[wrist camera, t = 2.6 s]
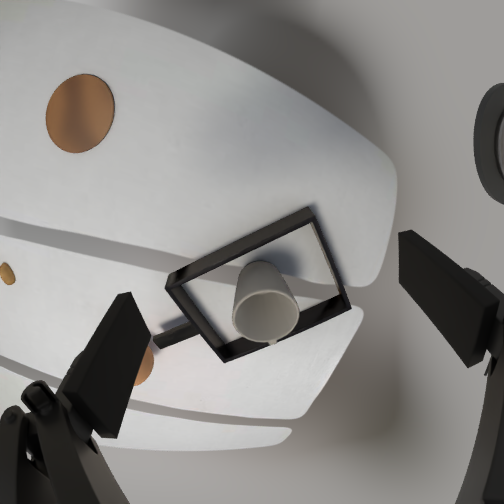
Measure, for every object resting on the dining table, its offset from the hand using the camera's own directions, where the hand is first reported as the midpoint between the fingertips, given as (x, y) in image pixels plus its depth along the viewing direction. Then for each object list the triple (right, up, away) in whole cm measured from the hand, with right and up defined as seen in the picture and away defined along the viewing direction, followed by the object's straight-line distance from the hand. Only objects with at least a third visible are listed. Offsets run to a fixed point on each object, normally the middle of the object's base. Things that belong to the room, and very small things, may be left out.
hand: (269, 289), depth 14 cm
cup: (0, -3, +28) cm, 28 cm away
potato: (-41, -2, +24) cm, 48 cm away
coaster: (-22, +19, +16) cm, 33 cm away
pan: (-3, -5, +28) cm, 29 cm away
